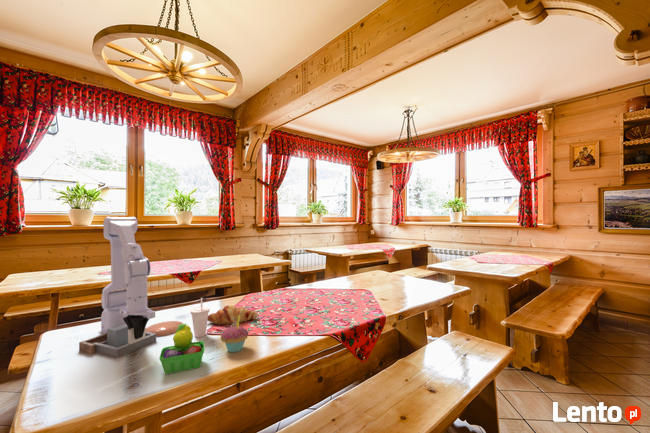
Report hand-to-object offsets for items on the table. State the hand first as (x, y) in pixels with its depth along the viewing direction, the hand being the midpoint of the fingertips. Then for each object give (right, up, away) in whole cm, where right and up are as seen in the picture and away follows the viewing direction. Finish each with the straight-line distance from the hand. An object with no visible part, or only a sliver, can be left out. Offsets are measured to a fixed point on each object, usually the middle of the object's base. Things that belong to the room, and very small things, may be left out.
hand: (136, 337), depth 93 cm
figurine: (+28, -4, +12) cm, 31 cm away
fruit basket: (+20, -4, -10) cm, 23 cm away
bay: (-12, -4, +5) cm, 13 cm away
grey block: (-9, -4, +3) cm, 10 cm away
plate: (0, -4, +16) cm, 17 cm away
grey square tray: (-6, -4, +2) cm, 7 cm away
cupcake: (+32, -4, 0) cm, 32 cm away
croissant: (+23, -5, +26) cm, 35 cm away
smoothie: (+16, -4, +11) cm, 20 cm away
